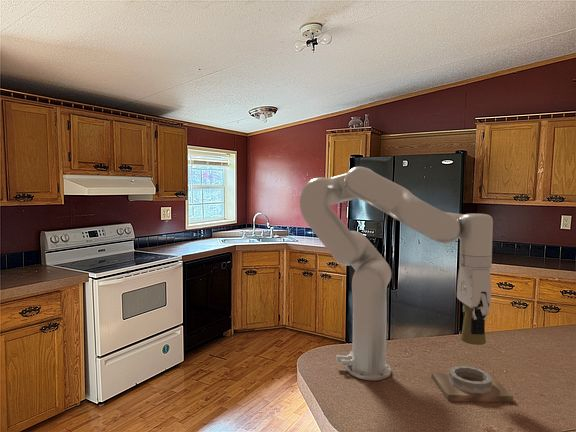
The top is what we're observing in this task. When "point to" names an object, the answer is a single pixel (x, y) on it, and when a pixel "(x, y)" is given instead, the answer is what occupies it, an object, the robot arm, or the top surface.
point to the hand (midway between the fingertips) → (473, 329)
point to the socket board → (469, 396)
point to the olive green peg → (466, 330)
